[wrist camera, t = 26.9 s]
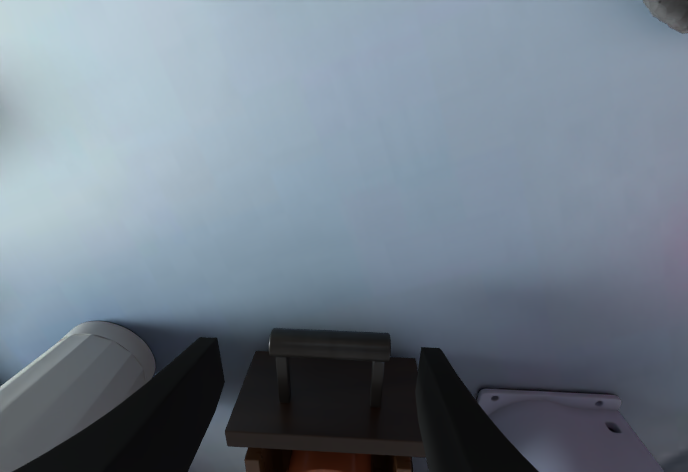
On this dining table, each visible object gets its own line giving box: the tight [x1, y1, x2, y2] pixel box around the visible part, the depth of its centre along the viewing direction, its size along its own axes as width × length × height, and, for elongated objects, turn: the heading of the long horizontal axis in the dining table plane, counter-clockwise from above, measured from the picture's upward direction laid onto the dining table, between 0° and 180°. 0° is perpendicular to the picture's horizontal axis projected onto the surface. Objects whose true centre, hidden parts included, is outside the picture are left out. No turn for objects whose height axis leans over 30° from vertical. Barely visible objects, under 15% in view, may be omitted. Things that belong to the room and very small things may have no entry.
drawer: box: [225, 328, 426, 472], centre depth 22 cm, size 17×10×6 cm, turn 179°
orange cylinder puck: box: [286, 450, 373, 472], centre depth 22 cm, size 5×5×4 cm
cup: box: [0, 321, 155, 472], centre depth 20 cm, size 8×8×12 cm
